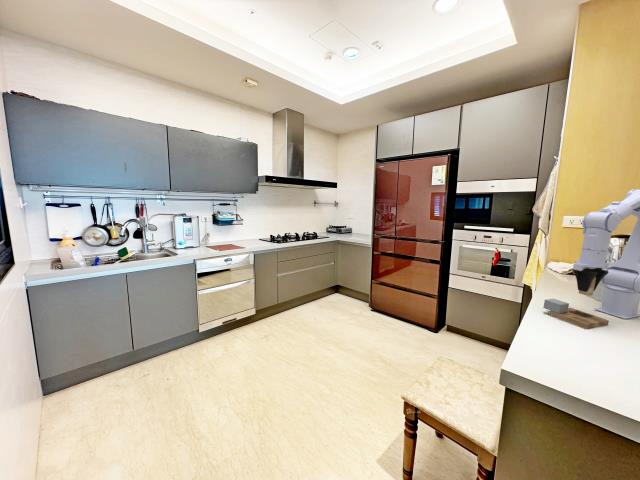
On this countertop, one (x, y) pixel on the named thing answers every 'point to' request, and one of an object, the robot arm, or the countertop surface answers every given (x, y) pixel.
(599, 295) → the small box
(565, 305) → the grey block
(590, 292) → the peg
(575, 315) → the board
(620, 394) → the countertop surface
